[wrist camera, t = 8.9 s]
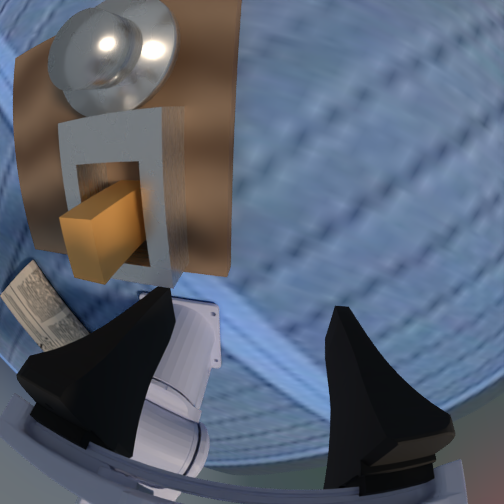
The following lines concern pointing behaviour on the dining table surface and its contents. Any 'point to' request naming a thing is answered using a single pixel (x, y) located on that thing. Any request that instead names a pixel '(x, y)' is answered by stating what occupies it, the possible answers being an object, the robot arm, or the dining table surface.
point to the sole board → (171, 94)
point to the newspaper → (42, 310)
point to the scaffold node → (126, 123)
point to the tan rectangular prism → (104, 231)
